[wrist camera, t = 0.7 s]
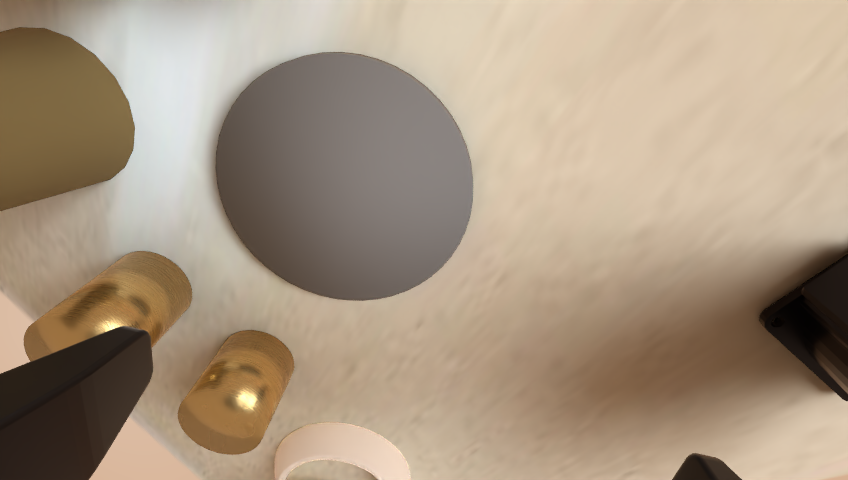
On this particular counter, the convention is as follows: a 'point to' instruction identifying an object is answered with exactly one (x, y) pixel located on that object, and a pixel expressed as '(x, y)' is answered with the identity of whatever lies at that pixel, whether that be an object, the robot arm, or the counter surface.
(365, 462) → the vr controller
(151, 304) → the cylinder
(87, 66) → the brown pawn piece
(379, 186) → the coaster
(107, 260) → the counter surface
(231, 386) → the cylinder
